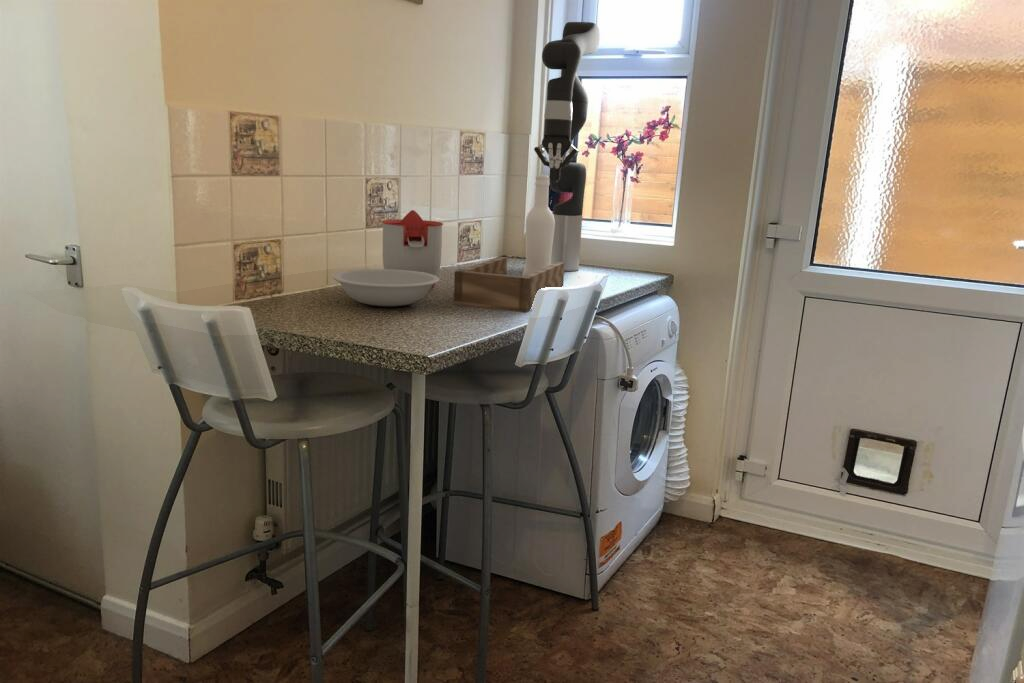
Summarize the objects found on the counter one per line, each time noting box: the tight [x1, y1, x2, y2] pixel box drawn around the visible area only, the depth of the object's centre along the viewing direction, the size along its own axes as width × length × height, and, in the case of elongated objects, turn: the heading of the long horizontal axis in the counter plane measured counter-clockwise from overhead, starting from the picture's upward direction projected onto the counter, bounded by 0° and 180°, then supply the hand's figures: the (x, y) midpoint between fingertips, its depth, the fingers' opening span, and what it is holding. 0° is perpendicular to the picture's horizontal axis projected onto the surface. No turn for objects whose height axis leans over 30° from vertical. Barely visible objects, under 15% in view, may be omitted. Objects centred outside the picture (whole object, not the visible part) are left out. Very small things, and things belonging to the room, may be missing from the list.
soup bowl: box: [332, 268, 440, 307], centre depth 184 cm, size 24×24×7 cm
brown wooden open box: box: [453, 256, 565, 313], centre depth 200 cm, size 32×18×8 cm, turn 162°
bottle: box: [522, 174, 555, 277], centre depth 218 cm, size 8×8×30 cm
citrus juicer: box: [381, 209, 444, 289], centre depth 206 cm, size 16×17×20 cm
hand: (554, 182), depth 226 cm, fingers closed
